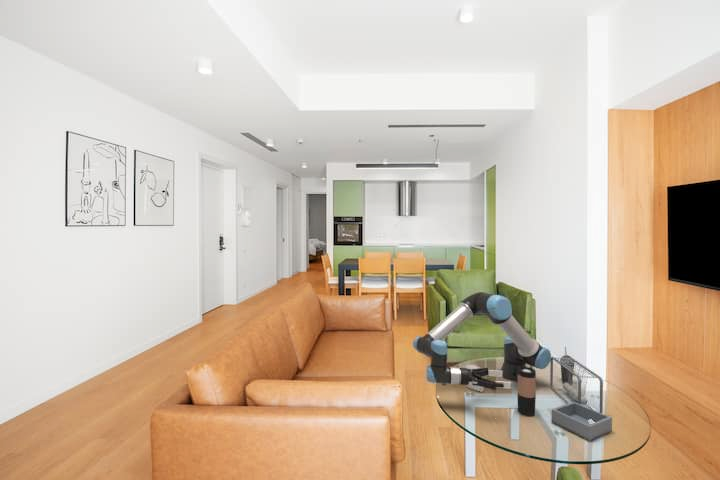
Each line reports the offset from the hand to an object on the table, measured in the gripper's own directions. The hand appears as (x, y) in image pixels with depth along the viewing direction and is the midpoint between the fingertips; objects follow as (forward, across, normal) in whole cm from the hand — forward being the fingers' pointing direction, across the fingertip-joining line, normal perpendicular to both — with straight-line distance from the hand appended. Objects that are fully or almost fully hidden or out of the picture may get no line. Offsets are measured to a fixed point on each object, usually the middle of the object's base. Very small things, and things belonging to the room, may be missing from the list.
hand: (506, 379), depth 163 cm
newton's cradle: (+37, -16, -15) cm, 43 cm away
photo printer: (-10, -24, -15) cm, 30 cm away
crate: (+28, +10, -15) cm, 33 cm away
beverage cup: (+43, -39, -14) cm, 60 cm away
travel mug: (+9, 0, -15) cm, 18 cm away
